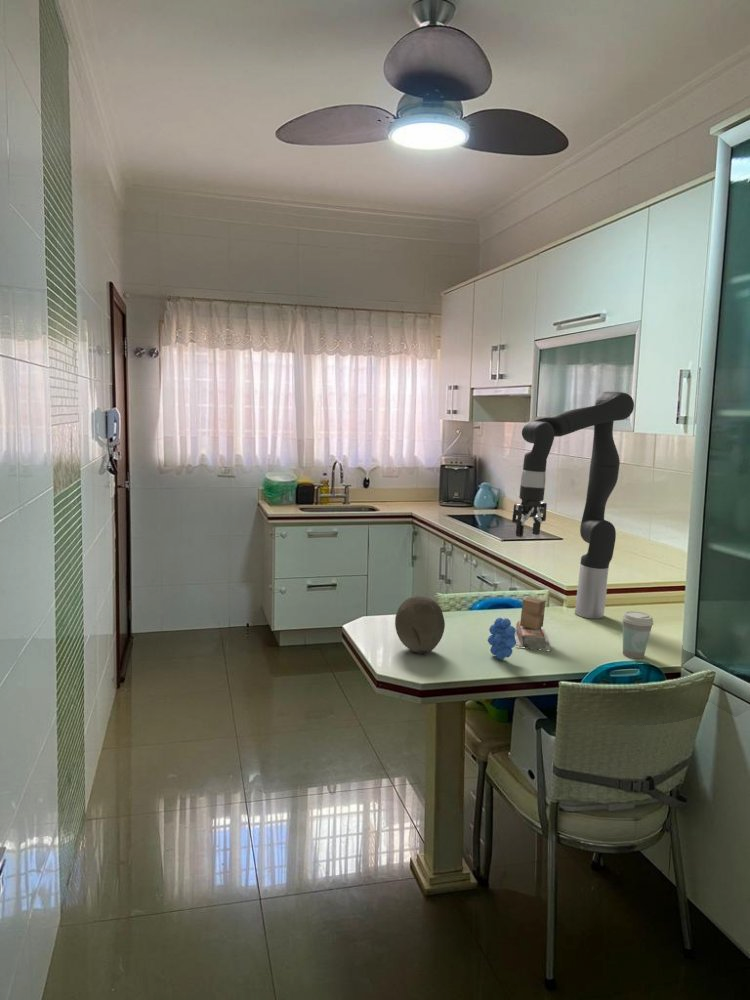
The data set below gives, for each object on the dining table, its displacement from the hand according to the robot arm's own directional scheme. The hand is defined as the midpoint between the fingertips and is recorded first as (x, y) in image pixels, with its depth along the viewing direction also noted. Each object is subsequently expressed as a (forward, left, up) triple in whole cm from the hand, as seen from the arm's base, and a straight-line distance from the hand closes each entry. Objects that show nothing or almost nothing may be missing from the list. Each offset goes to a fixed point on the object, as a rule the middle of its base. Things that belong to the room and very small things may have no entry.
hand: (527, 535), depth 231 cm
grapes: (+33, +20, -28) cm, 48 cm away
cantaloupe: (+49, +3, -28) cm, 57 cm away
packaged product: (+12, +14, -29) cm, 34 cm away
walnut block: (+12, +14, -24) cm, 30 cm away
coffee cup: (-4, +38, -28) cm, 48 cm away
